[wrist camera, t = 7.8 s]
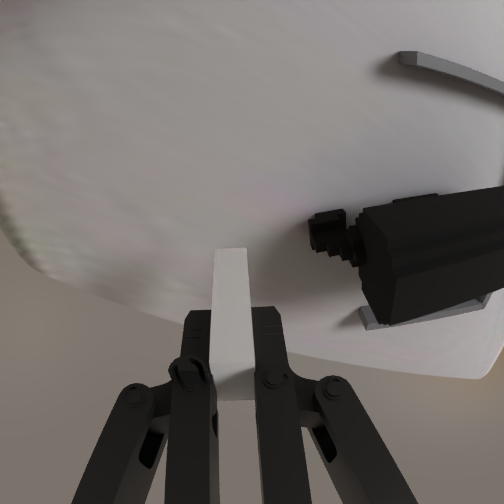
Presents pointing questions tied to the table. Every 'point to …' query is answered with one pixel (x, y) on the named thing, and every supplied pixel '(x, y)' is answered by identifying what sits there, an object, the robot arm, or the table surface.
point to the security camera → (420, 250)
